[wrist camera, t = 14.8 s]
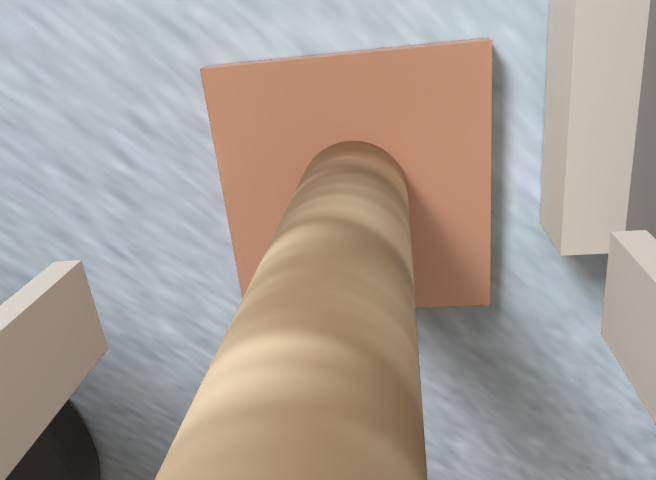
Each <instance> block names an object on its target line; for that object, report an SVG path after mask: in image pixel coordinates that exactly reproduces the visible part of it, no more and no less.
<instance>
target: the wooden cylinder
mask: <svg viewBox="0 0 656 480" xmlns="http://www.w3.org/2000/svg"><path fill="white" fill-rule="evenodd" d="M155 480H427V469H426V455H425V440H424V425H423V410H422V396H421V381H420V366H419V351H418V337H417V322H416V307H415V292H414V278H413V263H412V248H411V233H410V219H409V204H408V189H407V182H406V179H405V175H404V173H403V171H402V169H401V167H400V166H399V164H398V163H397V161H396V160H395V159H394V158H393V157H392V156H391V155H390V154H389V153H387V152H386V151H385V150H383V149H382V148H380V147H378V146H376V145H373V144H371V143H367V142H362V141H345V142H340V143H336V144H333V145H331V146H329V147H327V148H325V149H323V150H322V151H321V152H319V153H318V154H317V155H316V156H315V157H314V158H313V159H312V160H311V162H310V163H309V164H308V166H307V168H306V170H305V172H304V174H303V176H302V178H301V180H300V182H299V184H298V186H297V188H296V190H295V192H294V194H293V196H292V198H291V200H290V203H289V205H288V207H287V209H286V211H285V213H284V215H283V217H282V219H281V221H280V223H279V225H278V227H277V229H276V231H275V233H274V235H273V237H272V240H271V242H270V244H269V246H268V248H267V250H266V252H265V254H264V256H263V258H262V260H261V262H260V264H259V266H258V268H257V270H256V272H255V274H254V277H253V279H252V281H251V283H250V285H249V287H248V289H247V291H246V293H245V295H244V297H243V299H242V301H241V303H240V305H239V307H238V309H237V311H236V314H235V316H234V318H233V320H232V322H231V324H230V326H229V328H228V330H227V332H226V334H225V336H224V338H223V340H222V342H221V344H220V346H219V348H218V351H217V353H216V355H215V357H214V359H213V361H212V363H211V365H210V367H209V369H208V371H207V373H206V375H205V377H204V379H203V381H202V383H201V385H200V388H199V390H198V392H197V394H196V396H195V398H194V400H193V402H192V404H191V406H190V408H189V410H188V412H187V414H186V416H185V418H184V420H183V422H182V425H181V427H180V429H179V431H178V433H177V435H176V437H175V439H174V441H173V443H172V445H171V447H170V449H169V451H168V453H167V455H166V457H165V459H164V462H163V464H162V466H161V468H160V470H159V472H158V474H157V476H156V478H155Z"/></svg>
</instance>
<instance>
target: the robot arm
mask: <svg viewBox="0 0 656 480" xmlns="http://www.w3.org/2000/svg"><path fill="white" fill-rule="evenodd" d="M601 335H602V336H603V338H604V340H605V341H606V343H607V345H608V346H609V348H610V350H611V351H612V353H613V355H614V356H615V358H616V360H617V361H618V363H619V365H620V366H621V368H622V370H623V371H624V373H625V375H626V376H627V378H628V380H629V381H630V383H631V384H632V386H633V388H634V389H635V391H636V393H637V394H638V396H639V398H640V399H641V401H642V403H643V404H644V406H645V408H646V409H647V411H648V413H649V414H650V416H651V418H652V419H653V421H654V423H655V424H656V239H655V238H654V237H653V236H652V235H651V234H650V233H649V232H648V231H646V230H636V231H617V232H611V233H610V243H609V253H608V263H607V274H606V284H605V294H604V304H603V315H602V325H601ZM107 349H108V347H107V343H106V340H105V337H104V333H103V330H102V327H101V324H100V320H99V317H98V314H97V310H96V307H95V304H94V300H93V297H92V294H91V291H90V287H89V284H88V281H87V277H86V274H85V271H84V268H83V264H82V261H81V260H76V261H57V262H53V263H52V264H51V265H50V266H48V267H47V268H46V269H45V270H43V271H42V272H41V273H40V274H38V275H37V276H36V277H35V278H33V279H32V280H31V281H30V282H29V283H27V284H26V285H25V286H24V287H22V288H21V289H20V290H19V291H17V292H16V293H15V294H14V295H12V296H11V297H10V298H9V299H8V300H6V301H5V302H4V303H3V304H1V305H0V480H100V469H99V463H98V458H97V454H96V451H95V448H94V445H93V443H92V440H91V438H90V436H89V434H88V432H87V430H86V428H85V426H84V425H83V423H82V421H81V420H80V418H79V417H78V415H77V414H76V412H75V411H74V410H73V408H72V407H71V406H70V405H69V403H68V402H67V400H68V399H69V398H70V396H71V395H72V394H73V393H74V391H75V390H76V389H77V387H78V386H79V385H80V384H81V382H82V381H83V380H84V379H85V377H86V376H87V375H88V374H89V372H90V371H91V370H92V368H93V367H94V366H95V365H96V363H97V362H98V361H99V360H100V358H101V357H102V356H103V354H104V353H105V352H106V351H107Z"/></svg>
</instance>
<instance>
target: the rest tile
mask: <svg viewBox="0 0 656 480" xmlns="http://www.w3.org/2000/svg"><path fill="white" fill-rule="evenodd" d="M200 72H201V78H202V83H203V88H204V94H205V99H206V104H207V110H208V115H209V121H210V126H211V131H212V137H213V142H214V147H215V153H216V158H217V164H218V169H219V174H220V180H221V185H222V190H223V196H224V201H225V207H226V212H227V217H228V223H229V228H230V233H231V239H232V244H233V250H234V255H235V260H236V266H237V271H238V276H239V282H240V287H241V293H242V298H243V297H244V295H245V293H246V291H247V289H248V287H249V285H250V283H251V281H252V279H253V277H254V274H255V272H256V270H257V268H258V266H259V264H260V262H261V260H262V258H263V256H264V254H265V252H266V250H267V248H268V246H269V244H270V242H271V240H272V237H273V235H274V233H275V231H276V229H277V227H278V225H279V223H280V221H281V219H282V217H283V215H284V213H285V211H286V209H287V207H288V205H289V203H290V200H291V198H292V196H293V194H294V192H295V190H296V188H297V186H298V184H299V182H300V180H301V178H302V176H303V174H304V172H305V170H306V168H307V166H308V164H309V163H310V162H311V160H312V159H313V158H314V157H315V156H316V155H317V154H318V153H319V152H321V151H322V150H323V149H325V148H327V147H329V146H331V145H333V144H336V143H340V142H345V141H362V142H367V143H371V144H373V145H376V146H378V147H380V148H382V149H383V150H385V151H386V152H387V153H389V154H390V155H391V156H392V157H393V158H394V159H395V160H396V161H397V163H398V164H399V166H400V167H401V169H402V171H403V173H404V175H405V179H406V182H407V189H408V204H409V219H410V233H411V248H412V263H413V278H414V292H415V307H416V308H429V307H455V306H482V305H490V256H491V136H492V40H491V39H489V38H479V39H469V40H459V41H449V42H439V43H429V44H419V45H409V46H399V47H389V48H379V49H369V50H359V51H349V52H339V53H329V54H319V55H309V56H299V57H289V58H279V59H269V60H259V61H249V62H239V63H229V64H219V65H209V66H206V67H204V68H201V69H200Z"/></svg>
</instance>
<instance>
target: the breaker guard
mask: <svg viewBox="0 0 656 480" xmlns="http://www.w3.org/2000/svg"><path fill="white" fill-rule="evenodd" d="M540 224H541V226H542V227H543V229H544V230H545V232H546V234H547V235H548V237H549V238H550V240H551V242H552V243H553V245H554V246H555V248H556V249H557V251H558V253H559V254H560V256H567V255H587V254H608V253H609V243H610V233H611V232H617V231H636V230H646V231H648V232H649V233H650V234H651V235H652V236H653V237H654V238H655V239H656V0H550V3H549V25H548V48H547V70H546V93H545V115H544V137H543V160H542V182H541V205H540Z"/></svg>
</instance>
